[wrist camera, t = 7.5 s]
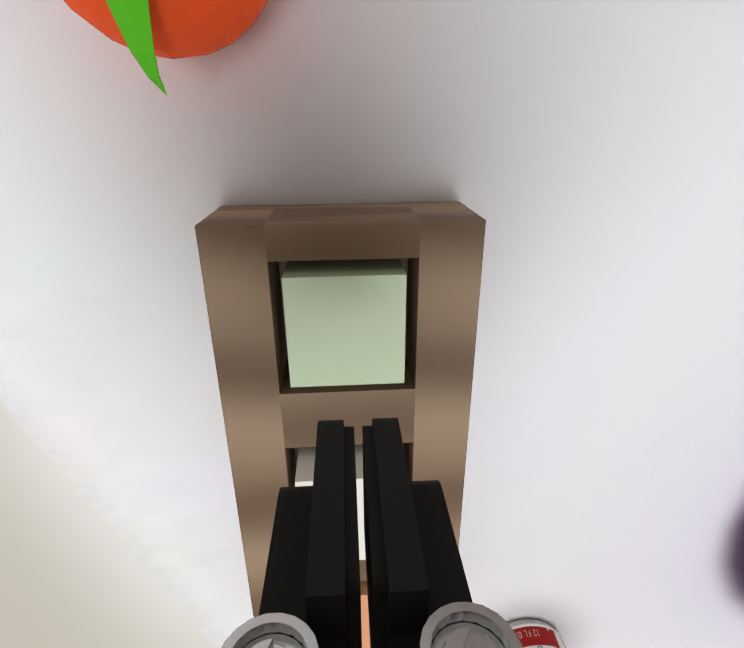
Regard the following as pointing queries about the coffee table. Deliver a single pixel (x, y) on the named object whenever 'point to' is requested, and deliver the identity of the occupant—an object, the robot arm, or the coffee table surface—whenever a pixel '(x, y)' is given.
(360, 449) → the grey button
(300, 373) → the sage button
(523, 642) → the soda can
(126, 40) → the tomato
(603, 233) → the coffee table surface
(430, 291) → the frame
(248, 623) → the robot arm
